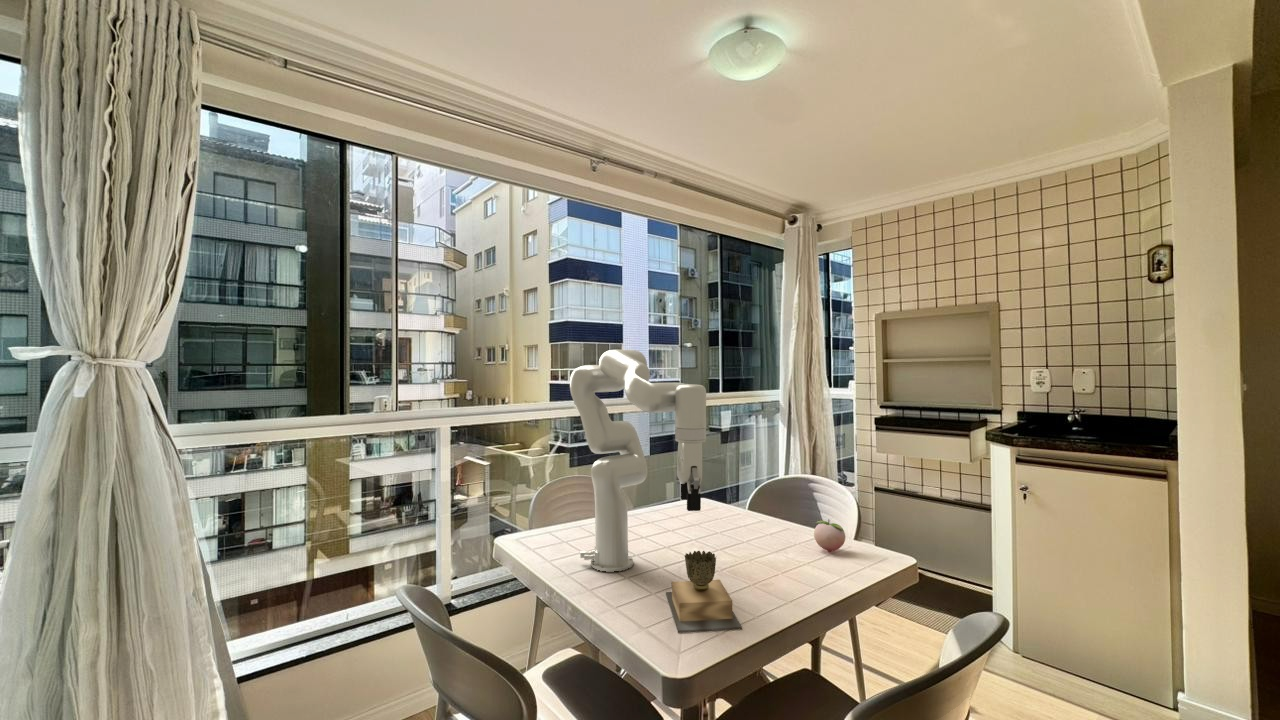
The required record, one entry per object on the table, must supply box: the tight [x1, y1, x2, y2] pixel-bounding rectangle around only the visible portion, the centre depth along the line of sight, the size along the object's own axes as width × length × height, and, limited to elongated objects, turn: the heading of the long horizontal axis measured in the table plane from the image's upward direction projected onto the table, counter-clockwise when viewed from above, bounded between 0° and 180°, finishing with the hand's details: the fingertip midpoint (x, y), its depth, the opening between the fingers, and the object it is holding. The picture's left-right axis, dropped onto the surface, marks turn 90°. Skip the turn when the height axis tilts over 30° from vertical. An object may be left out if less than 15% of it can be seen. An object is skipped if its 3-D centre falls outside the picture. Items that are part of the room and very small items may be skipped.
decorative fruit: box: [813, 519, 846, 553], centre depth 158 cm, size 9×8×10 cm
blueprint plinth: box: [665, 579, 743, 634], centre depth 121 cm, size 14×20×4 cm
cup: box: [684, 550, 717, 591], centre depth 122 cm, size 8×7×8 cm
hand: (690, 504), depth 126 cm, fingers open, 9 cm apart
